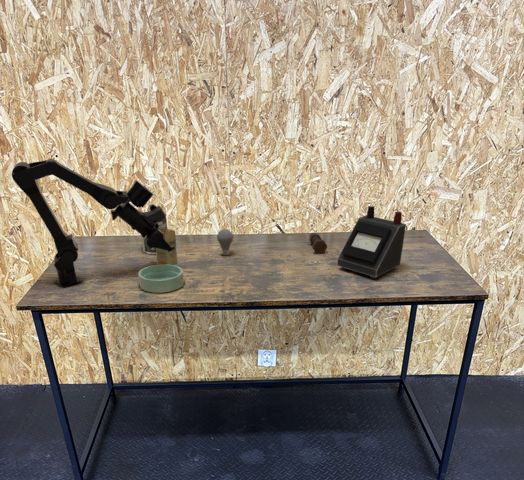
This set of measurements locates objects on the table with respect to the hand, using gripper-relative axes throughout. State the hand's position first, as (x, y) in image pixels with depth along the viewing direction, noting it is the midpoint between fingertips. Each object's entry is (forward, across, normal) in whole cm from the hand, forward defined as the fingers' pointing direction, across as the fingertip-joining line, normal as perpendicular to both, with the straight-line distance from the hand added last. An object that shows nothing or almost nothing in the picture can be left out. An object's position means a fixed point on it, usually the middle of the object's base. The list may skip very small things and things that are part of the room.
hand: (169, 246), depth 173 cm
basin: (+2, -12, +10) cm, 16 cm away
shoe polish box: (+4, 0, +6) cm, 7 cm away
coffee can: (+5, +23, +8) cm, 25 cm away
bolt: (+48, +6, -36) cm, 60 cm away
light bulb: (+22, +9, -10) cm, 26 cm away
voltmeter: (+53, -22, -42) cm, 71 cm away
